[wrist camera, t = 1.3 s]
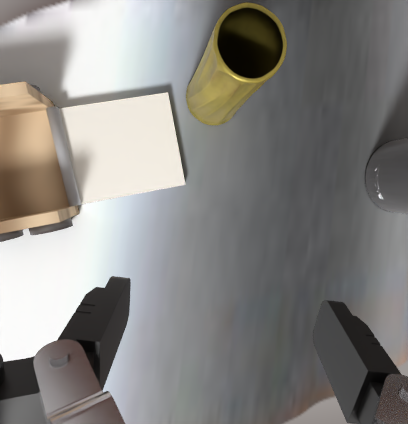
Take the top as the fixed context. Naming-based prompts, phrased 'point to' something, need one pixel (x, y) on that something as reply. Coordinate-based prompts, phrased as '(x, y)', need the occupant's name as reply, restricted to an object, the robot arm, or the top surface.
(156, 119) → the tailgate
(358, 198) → the top surface
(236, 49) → the vase
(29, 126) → the truck bed
